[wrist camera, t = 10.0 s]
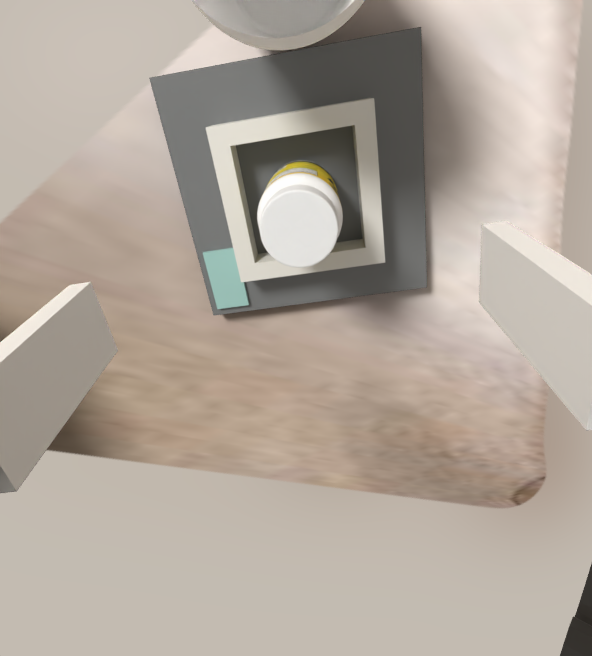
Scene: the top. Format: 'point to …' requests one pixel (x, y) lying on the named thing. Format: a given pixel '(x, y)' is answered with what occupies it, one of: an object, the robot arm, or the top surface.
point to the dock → (311, 145)
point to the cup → (278, 20)
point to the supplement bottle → (300, 214)
